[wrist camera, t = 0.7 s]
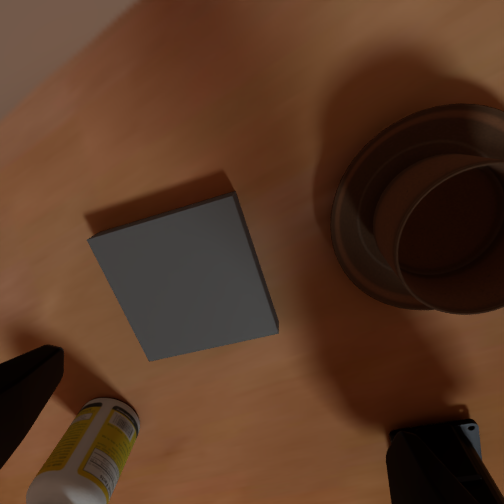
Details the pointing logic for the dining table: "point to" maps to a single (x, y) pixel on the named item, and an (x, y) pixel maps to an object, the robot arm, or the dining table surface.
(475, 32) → the dining table surface
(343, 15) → the dining table surface
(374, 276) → the cup and saucer
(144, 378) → the dining table surface
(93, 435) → the supplement bottle
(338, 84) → the dining table surface
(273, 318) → the charcoal block
